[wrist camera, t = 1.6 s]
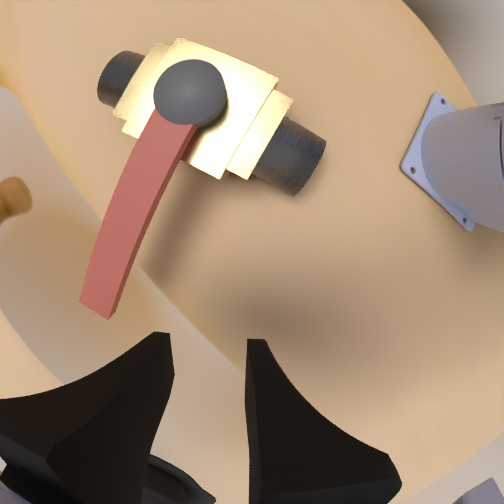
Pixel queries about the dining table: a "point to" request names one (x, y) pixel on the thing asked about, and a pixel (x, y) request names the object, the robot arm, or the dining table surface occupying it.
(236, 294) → the dining table surface
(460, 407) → the dining table surface
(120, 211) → the lever
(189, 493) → the casserole
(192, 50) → the valve fixture
